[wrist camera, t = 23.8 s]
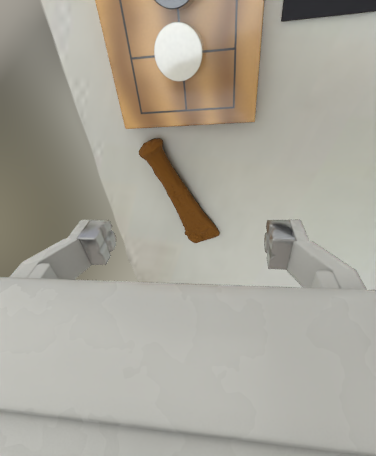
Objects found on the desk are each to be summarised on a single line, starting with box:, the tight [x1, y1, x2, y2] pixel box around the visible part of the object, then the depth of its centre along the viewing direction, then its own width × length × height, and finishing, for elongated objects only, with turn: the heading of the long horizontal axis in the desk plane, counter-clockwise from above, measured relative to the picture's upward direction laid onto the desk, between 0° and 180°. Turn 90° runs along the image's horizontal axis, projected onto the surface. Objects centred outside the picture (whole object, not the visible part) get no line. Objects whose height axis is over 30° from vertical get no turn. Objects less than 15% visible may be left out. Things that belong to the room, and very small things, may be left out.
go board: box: [95, 0, 264, 129], centre depth 25 cm, size 16×20×2 cm
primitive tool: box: [139, 138, 220, 243], centre depth 37 cm, size 19×6×4 cm, turn 28°
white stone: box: [154, 22, 204, 81], centre depth 24 cm, size 5×5×3 cm
